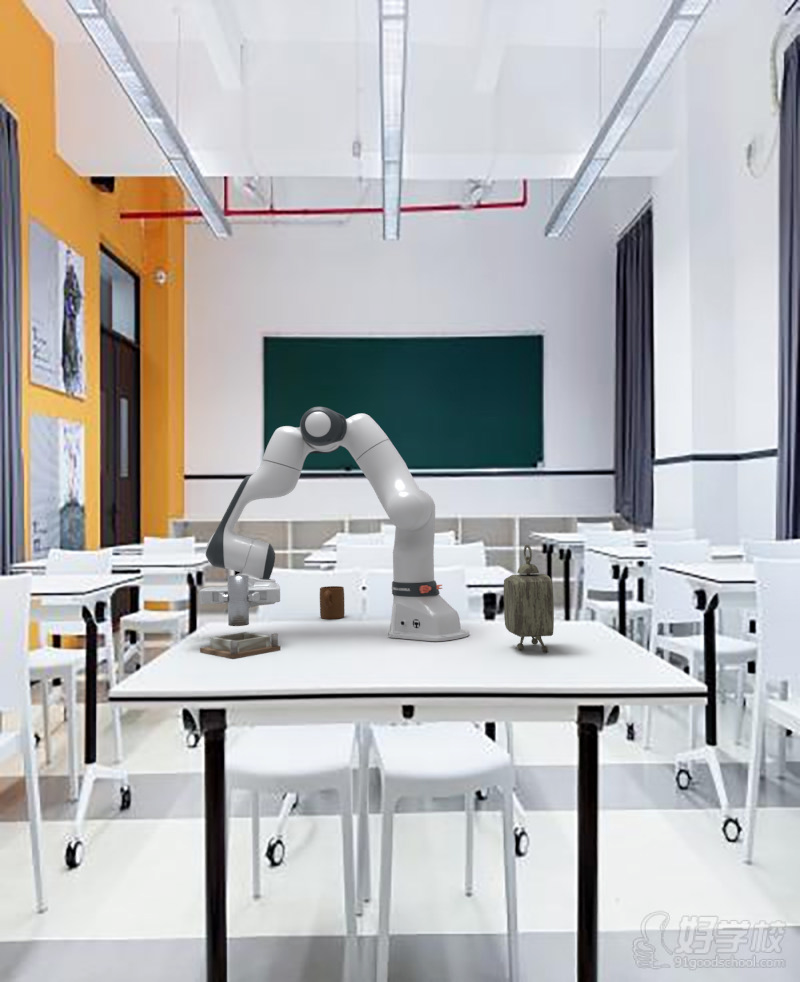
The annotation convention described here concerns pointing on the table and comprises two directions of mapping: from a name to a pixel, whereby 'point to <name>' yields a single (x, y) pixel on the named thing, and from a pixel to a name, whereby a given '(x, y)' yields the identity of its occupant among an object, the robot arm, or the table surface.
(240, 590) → the pin
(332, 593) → the mug
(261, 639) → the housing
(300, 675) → the table surface
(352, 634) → the table surface
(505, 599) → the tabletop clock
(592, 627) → the table surface
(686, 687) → the table surface
